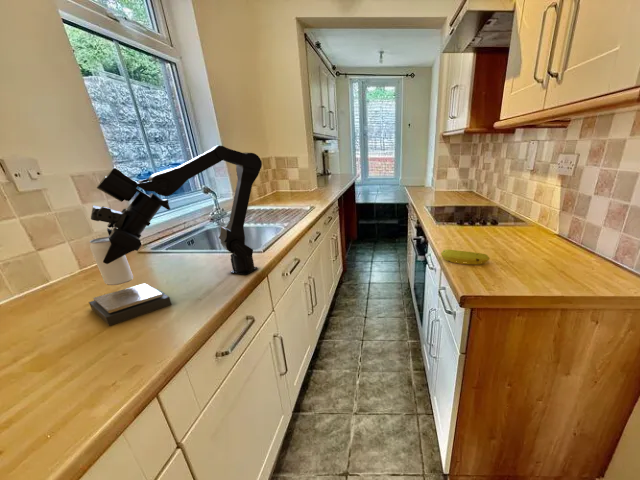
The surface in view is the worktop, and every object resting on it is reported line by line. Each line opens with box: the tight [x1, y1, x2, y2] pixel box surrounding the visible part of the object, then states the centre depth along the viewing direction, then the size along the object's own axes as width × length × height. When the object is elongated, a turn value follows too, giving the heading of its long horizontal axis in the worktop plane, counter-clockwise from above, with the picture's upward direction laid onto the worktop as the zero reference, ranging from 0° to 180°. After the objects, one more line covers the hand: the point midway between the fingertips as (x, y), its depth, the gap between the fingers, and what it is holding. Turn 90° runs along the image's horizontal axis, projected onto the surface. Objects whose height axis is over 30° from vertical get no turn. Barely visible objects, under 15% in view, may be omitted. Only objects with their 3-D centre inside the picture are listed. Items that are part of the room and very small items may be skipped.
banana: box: [440, 248, 490, 265], centre depth 120 cm, size 5×17×15 cm
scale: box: [88, 284, 172, 327], centre depth 86 cm, size 14×14×2 cm
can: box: [89, 236, 134, 286], centre depth 86 cm, size 6×6×12 cm
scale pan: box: [92, 283, 163, 313], centre depth 85 cm, size 12×12×1 cm
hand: (104, 259), depth 85 cm, fingers closed on can, 6 cm apart
